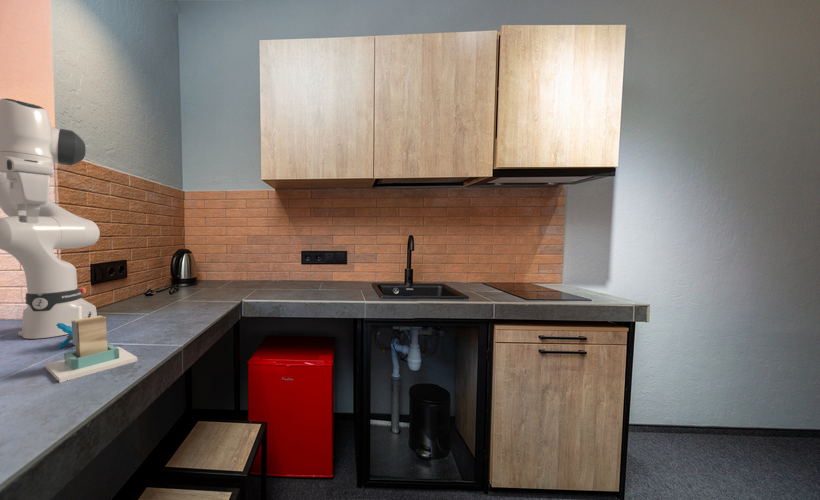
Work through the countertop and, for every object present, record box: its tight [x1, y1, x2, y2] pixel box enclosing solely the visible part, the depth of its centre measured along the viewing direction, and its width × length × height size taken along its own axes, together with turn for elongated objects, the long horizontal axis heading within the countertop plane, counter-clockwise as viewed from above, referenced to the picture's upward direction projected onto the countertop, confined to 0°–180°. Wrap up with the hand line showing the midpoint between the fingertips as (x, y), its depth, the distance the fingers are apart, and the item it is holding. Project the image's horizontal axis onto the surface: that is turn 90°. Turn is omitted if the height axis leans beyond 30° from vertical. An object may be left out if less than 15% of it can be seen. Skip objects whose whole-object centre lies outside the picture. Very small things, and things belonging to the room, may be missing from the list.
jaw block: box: [72, 315, 108, 358], centre depth 80 cm, size 4×6×11 cm
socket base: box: [44, 342, 139, 384], centre depth 80 cm, size 14×14×4 cm
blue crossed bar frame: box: [56, 323, 73, 349], centre depth 93 cm, size 11×6×10 cm
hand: (28, 222), depth 79 cm, fingers open, 8 cm apart
